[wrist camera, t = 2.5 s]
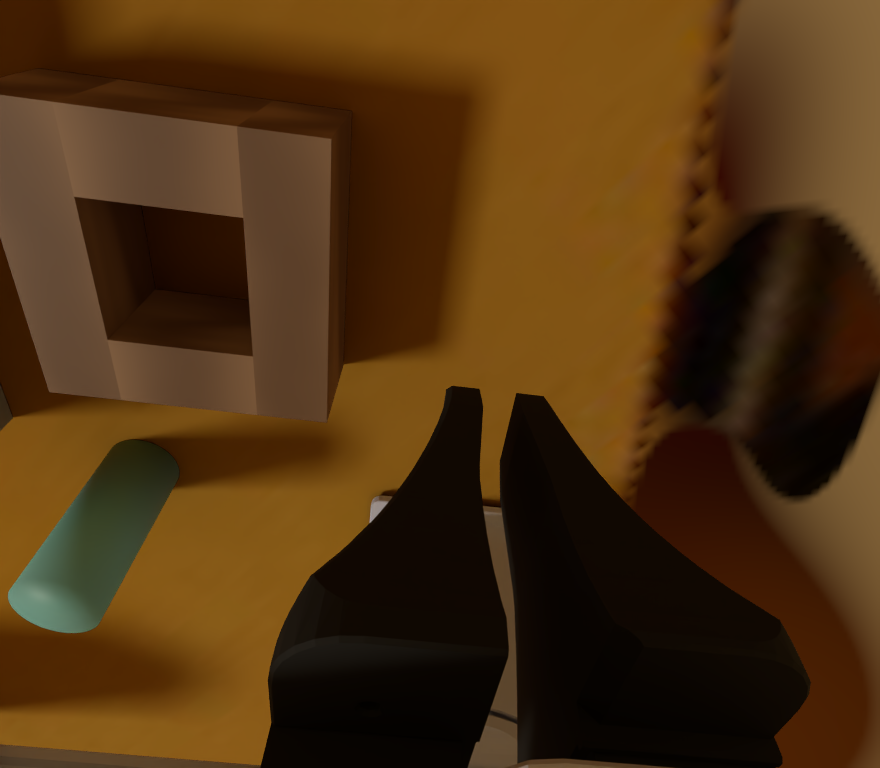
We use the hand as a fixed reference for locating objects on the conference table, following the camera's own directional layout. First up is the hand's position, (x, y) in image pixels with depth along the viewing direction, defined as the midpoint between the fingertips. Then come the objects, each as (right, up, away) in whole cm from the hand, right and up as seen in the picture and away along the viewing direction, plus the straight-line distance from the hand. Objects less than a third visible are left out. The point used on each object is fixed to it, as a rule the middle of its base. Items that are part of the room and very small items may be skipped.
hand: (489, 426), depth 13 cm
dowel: (-14, -3, +12) cm, 19 cm away
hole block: (-9, +6, +6) cm, 12 cm away
